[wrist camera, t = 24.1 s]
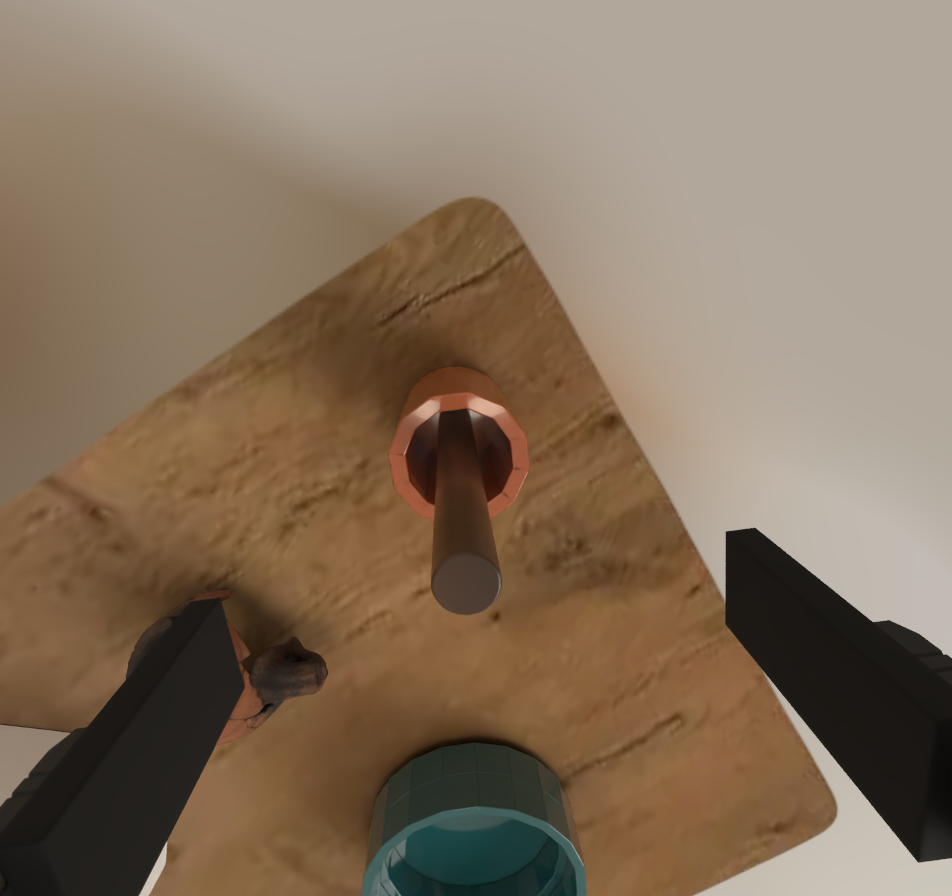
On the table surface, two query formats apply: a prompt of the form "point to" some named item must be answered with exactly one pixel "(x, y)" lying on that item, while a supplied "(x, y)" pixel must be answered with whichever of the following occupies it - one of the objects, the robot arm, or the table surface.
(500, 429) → the crock
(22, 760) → the milk
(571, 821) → the bowl
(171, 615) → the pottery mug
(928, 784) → the robot arm
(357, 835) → the table surface
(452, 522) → the stirring stick
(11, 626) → the table surface
